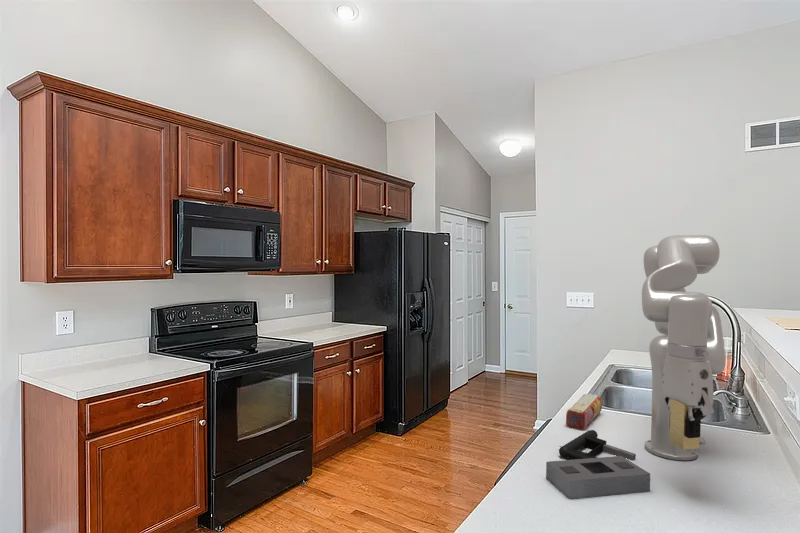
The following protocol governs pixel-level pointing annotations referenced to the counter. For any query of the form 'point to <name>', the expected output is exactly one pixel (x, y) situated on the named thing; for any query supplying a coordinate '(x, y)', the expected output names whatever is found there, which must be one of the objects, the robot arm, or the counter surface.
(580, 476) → the grey peg hole block
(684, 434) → the brass peg
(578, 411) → the snack package
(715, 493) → the counter surface
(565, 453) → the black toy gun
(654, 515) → the counter surface
